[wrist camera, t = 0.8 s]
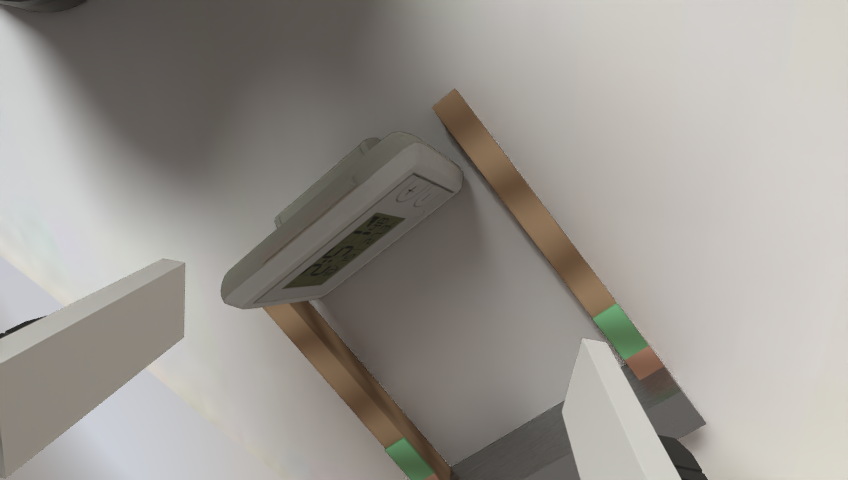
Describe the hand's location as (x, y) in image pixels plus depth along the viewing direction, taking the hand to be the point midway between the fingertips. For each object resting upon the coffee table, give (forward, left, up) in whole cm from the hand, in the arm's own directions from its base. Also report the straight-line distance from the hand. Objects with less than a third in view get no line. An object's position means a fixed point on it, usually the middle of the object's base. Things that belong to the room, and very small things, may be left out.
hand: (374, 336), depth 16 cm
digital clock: (-3, -5, -23) cm, 23 cm away
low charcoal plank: (+20, -5, -22) cm, 31 cm away
